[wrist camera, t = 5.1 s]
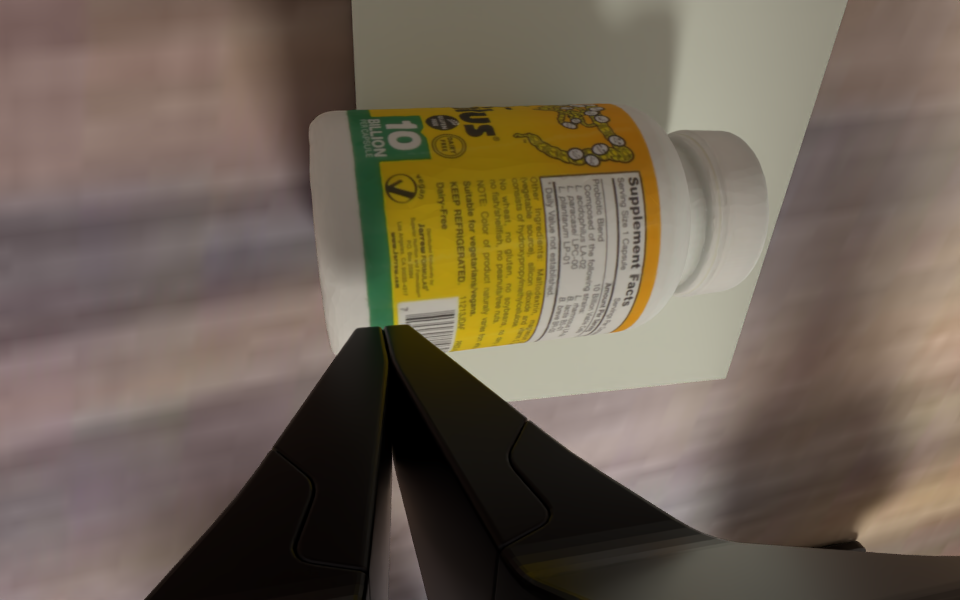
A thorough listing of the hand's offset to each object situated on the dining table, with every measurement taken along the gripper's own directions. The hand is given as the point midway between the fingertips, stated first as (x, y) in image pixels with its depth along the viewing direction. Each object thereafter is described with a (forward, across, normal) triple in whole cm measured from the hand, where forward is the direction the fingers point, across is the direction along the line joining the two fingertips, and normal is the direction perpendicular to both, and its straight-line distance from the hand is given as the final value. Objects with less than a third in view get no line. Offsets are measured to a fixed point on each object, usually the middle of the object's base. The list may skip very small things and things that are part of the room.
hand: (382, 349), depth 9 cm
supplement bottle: (+4, +1, 0) cm, 4 cm away
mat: (+7, -6, 0) cm, 10 cm away
